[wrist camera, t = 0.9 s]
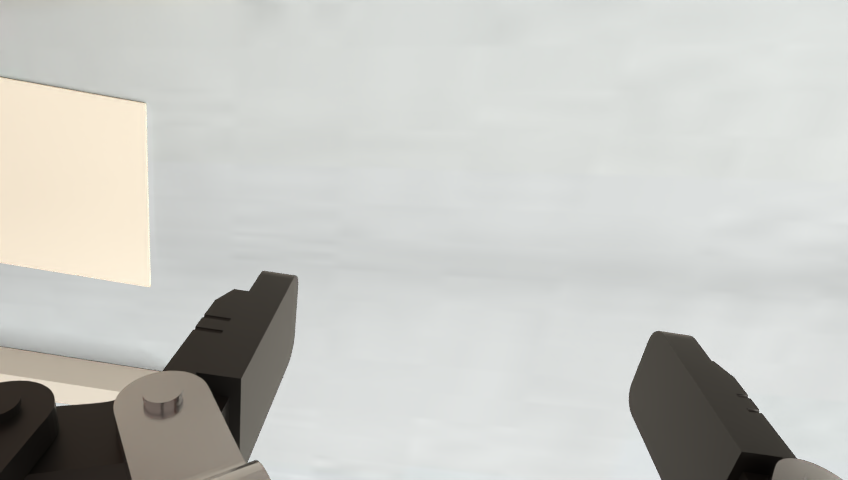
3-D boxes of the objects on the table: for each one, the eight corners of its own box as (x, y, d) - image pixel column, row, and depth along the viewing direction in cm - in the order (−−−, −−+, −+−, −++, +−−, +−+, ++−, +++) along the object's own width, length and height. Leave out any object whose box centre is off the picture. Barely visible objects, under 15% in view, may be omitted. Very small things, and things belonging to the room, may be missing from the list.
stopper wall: (-59, 337, 44) (-93, 359, 41) (189, 375, 45) (173, 400, 42) (-55, 357, 45) (-88, 380, 42) (189, 395, 46) (173, 420, 43)
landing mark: (-70, 64, 35) (-73, 64, 35) (146, 103, 36) (144, 103, 36) (-37, 255, 41) (-39, 256, 41) (150, 286, 42) (149, 287, 41)
